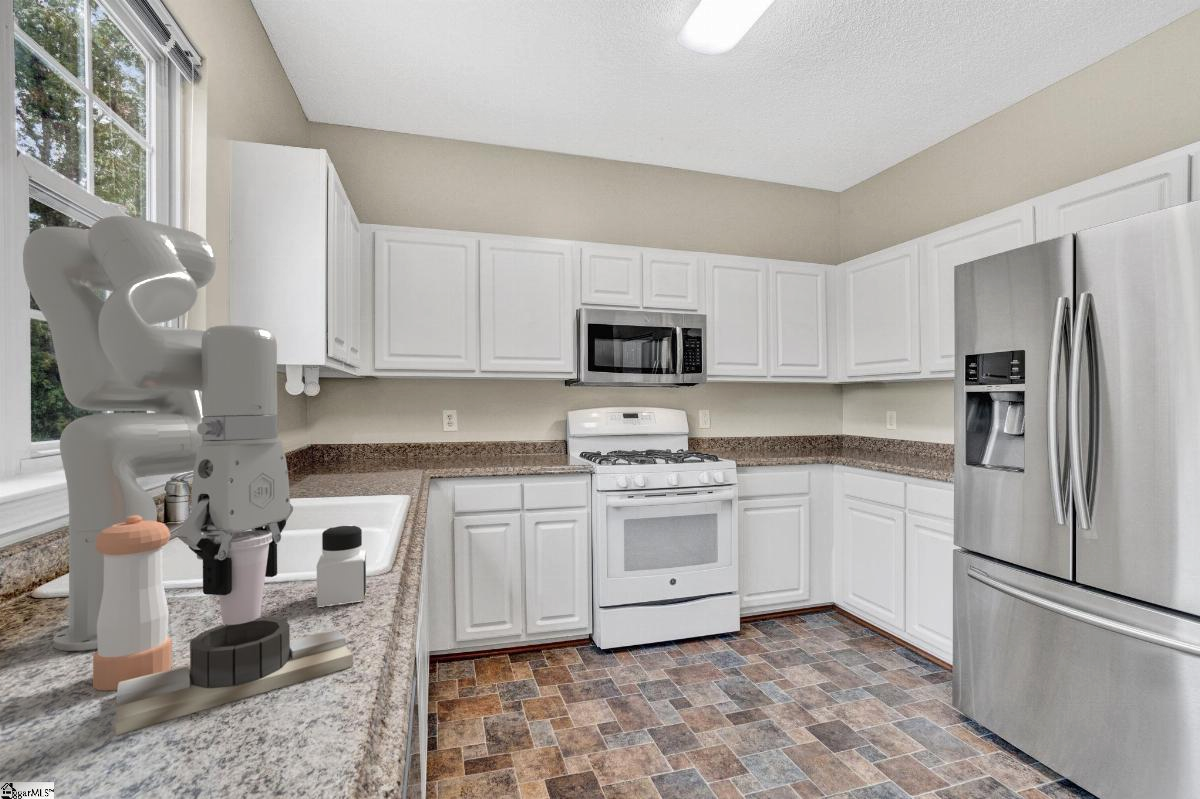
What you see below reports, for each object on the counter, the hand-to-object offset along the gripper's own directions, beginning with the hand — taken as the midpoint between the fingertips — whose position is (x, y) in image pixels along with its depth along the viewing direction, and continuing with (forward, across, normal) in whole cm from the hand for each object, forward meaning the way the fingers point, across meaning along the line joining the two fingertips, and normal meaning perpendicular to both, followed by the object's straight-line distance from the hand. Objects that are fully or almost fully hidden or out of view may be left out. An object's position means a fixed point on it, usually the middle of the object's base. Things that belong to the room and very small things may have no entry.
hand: (242, 583), depth 65 cm
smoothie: (+4, 0, 0) cm, 4 cm away
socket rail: (+11, 0, 0) cm, 11 cm away
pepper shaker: (+11, -1, +14) cm, 18 cm away
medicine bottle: (+11, +28, +6) cm, 31 cm away
